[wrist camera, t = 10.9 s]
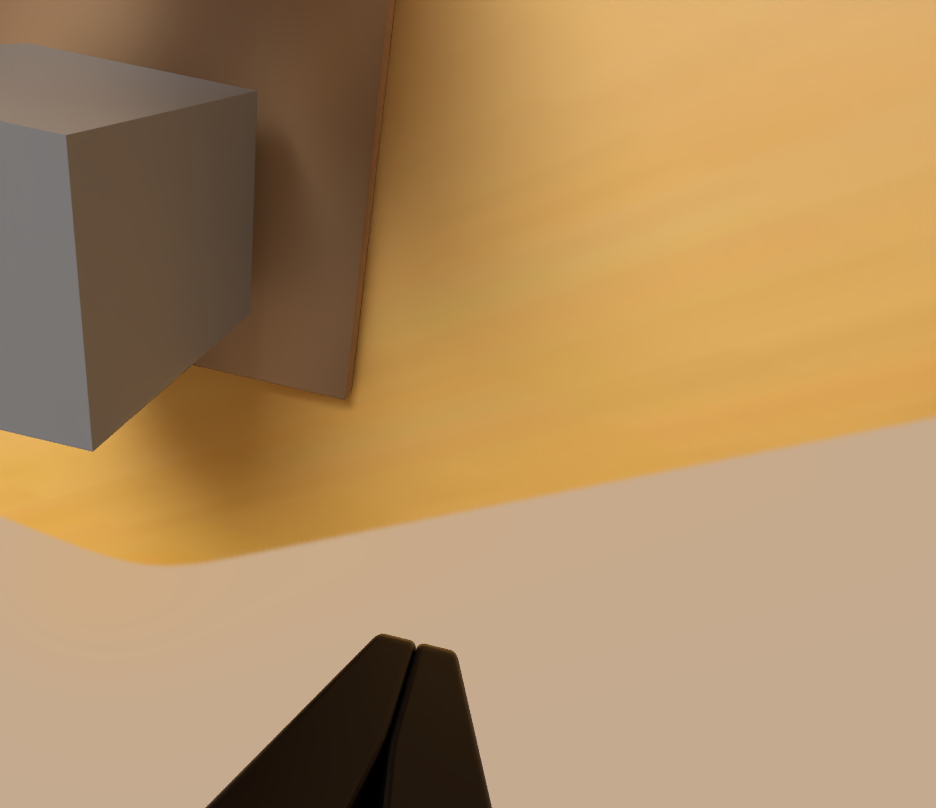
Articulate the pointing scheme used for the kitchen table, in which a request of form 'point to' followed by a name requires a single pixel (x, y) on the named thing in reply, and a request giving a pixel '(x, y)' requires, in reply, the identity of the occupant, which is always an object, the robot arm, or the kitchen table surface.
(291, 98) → the brown flat panel
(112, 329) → the grey rectangular block
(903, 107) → the kitchen table surface
